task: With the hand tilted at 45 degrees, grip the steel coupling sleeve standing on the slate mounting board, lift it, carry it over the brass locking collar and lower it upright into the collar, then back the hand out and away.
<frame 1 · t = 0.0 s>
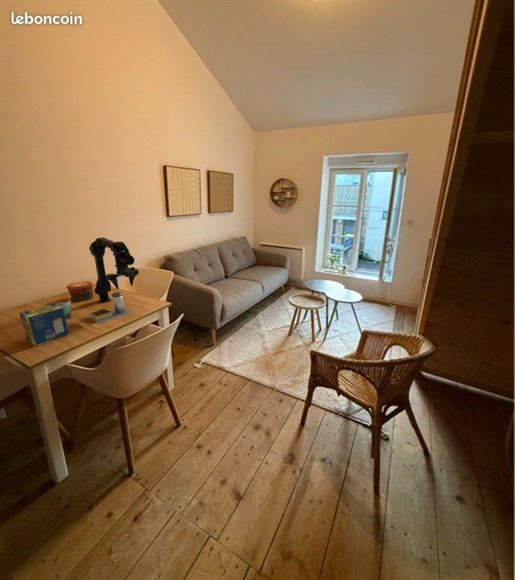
hand: (124, 287, 177), 15 cm above the table, tool pointing down, fingers open, 9 cm apart
protein box: (49, 338, 147), on the table
locking collar: (101, 319, 168), resting on mounting board
food container 2: (82, 298, 202), on the table
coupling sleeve: (120, 312, 175), point 1 cm above the table, touching mounting board
food container: (63, 319, 168), on the table
mounting board: (111, 316, 171), on the table
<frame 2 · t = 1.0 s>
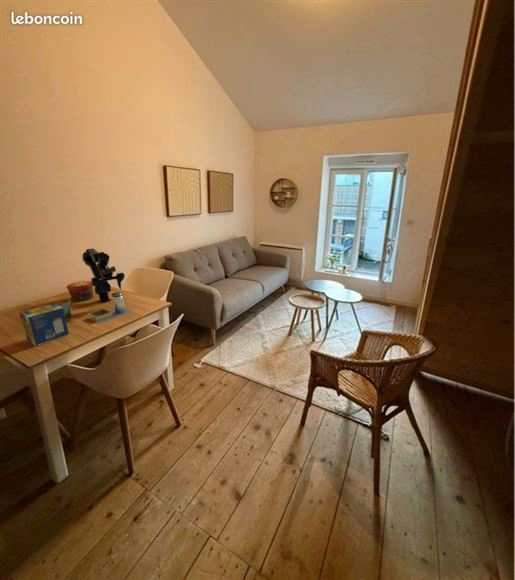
hand: (112, 290, 177), 13 cm above the table, tool tilted 45°, fingers open, 9 cm apart
nothing on the table moved.
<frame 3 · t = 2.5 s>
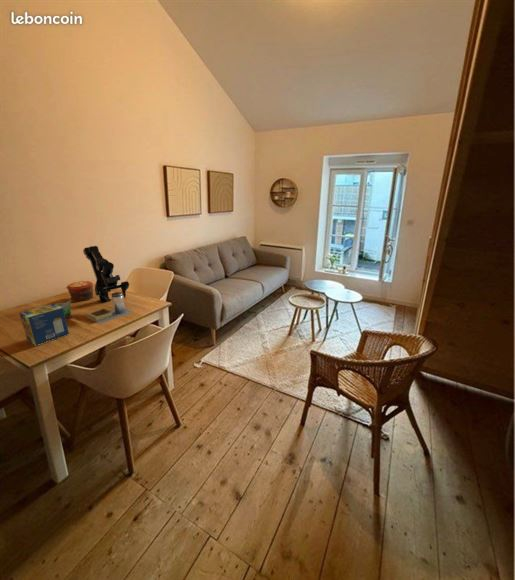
hand: (117, 299, 173), 9 cm above the table, tool tilted 45°, fingers open, 9 cm apart
nothing on the table moved.
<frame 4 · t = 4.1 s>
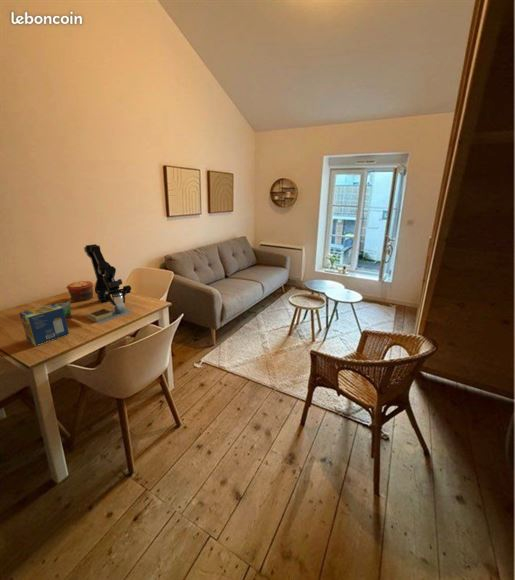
hand: (119, 304, 172), 7 cm above the table, tool tilted 45°, fingers closed on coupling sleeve, 6 cm apart
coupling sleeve: (120, 312, 175), point 1 cm above the table, touching gripper, mounting board
everything else where it was.
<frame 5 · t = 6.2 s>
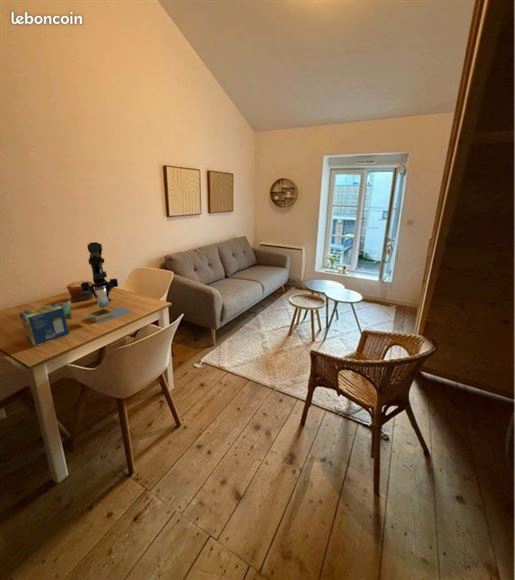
hand: (102, 297, 164), 14 cm above the table, tool tilted 45°, fingers closed on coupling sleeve, 6 cm apart
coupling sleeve: (103, 305, 167), point 8 cm above the table, touching gripper
everything else where it was.
when the fingers open (8 cm above the table, at t = 8.5 s): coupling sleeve drops 1 cm, resting on mounting board.
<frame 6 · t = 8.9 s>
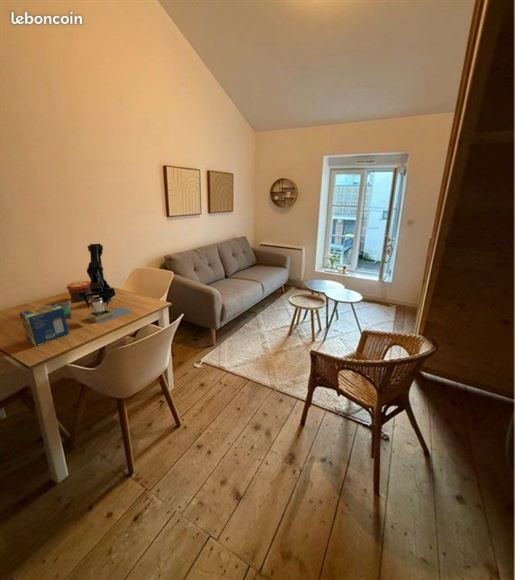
hand: (98, 306, 164), 8 cm above the table, tool tilted 45°, fingers open, 9 cm apart
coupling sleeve: (100, 317, 167), point 1 cm above the table, touching mounting board
everything else where it was.
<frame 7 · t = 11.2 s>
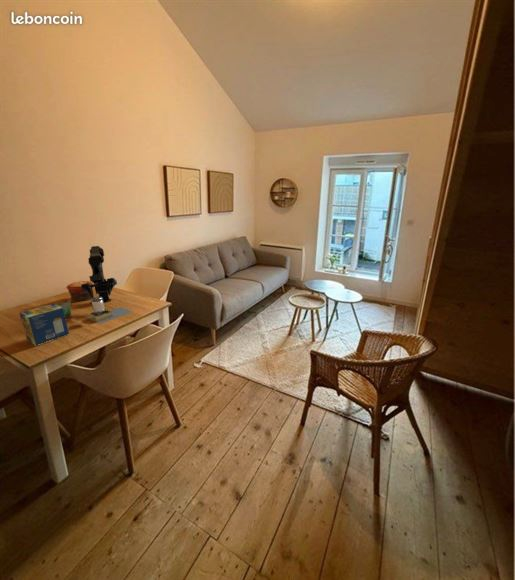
hand: (101, 297, 173), 11 cm above the table, tool tilted 40°, fingers open, 9 cm apart
nothing on the table moved.
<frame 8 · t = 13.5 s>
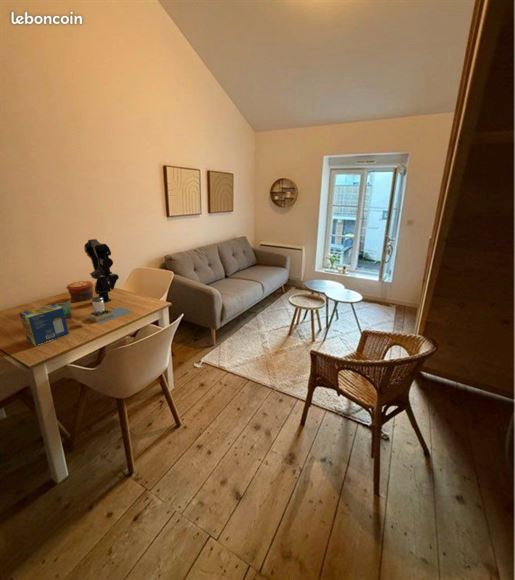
hand: (108, 288, 181), 13 cm above the table, tool pointing down, fingers open, 9 cm apart
nothing on the table moved.
at the end: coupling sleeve 0.1 cm off-centre on the locking collar, point 1.3 cm above the locking collar's base; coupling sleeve tilted 2°; the gripper is holding nothing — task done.
